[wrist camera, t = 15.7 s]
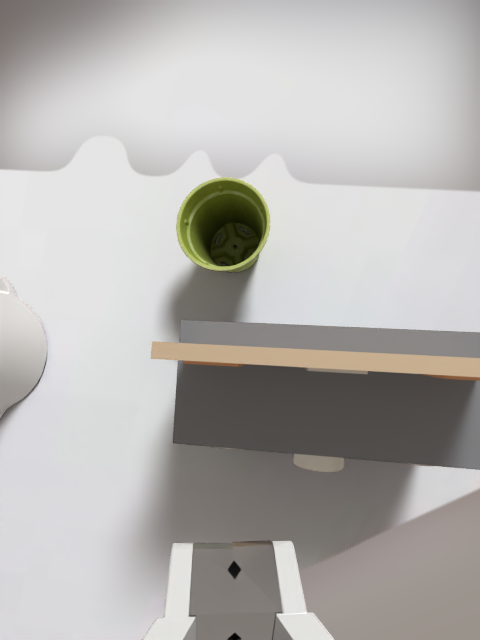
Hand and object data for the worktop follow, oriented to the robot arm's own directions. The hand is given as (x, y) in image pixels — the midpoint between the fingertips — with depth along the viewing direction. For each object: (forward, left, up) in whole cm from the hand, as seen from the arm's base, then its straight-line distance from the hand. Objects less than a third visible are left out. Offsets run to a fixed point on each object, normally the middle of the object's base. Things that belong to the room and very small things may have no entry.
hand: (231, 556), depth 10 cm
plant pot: (-6, +17, -35) cm, 39 cm away
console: (+4, +2, -35) cm, 35 cm away
